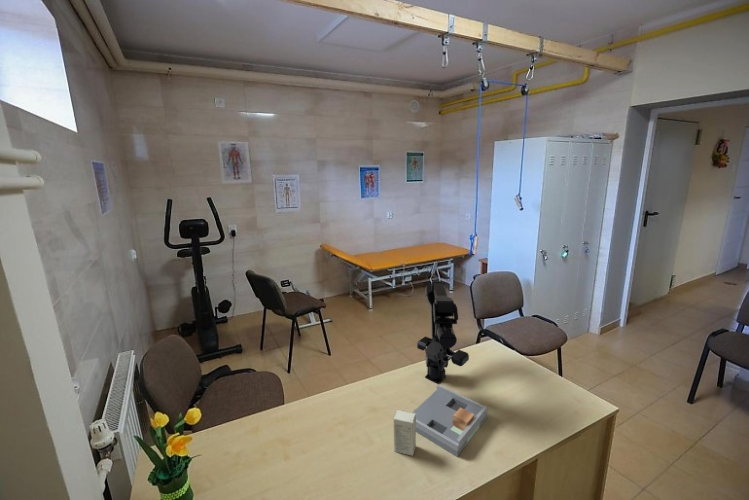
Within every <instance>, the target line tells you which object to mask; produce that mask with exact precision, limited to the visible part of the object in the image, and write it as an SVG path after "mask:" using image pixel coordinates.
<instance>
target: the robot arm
mask: <svg viewBox="0 0 749 500" xmlns="http://www.w3.org/2000/svg"><path fill="white" fill-rule="evenodd" d="M424 289H425V291H424V297H426V302H427V303H428V306H429V308H430V326H431V327H430V329H431V331H430V332H431V333H430V334H431V335H430V336H431V337H429V336H426V335H425V336H424V337H423V338H421V339H418V341H417V342H416V347H417V349H418V350H420V351H425V352H424V353H425V364H426V365H425V366H426V369H427V370H426V374H425V376H424V378H425V379H427V380H430V381H432V382H434V383H436V384H440V383H441V382H442V381H443V380H444V379H445V378H446V377H447V375H446V369H445V368H448V366H449V361H451V363H452V364H454V365H456V366H459V367H462V366H464V365H465V364H466V363H467V362H469V360H470V355H469V353H468V352H466V351H464V350H460V349H458V350H456V351H455V350H454V349H452V348H453V347H455V345H456V344H457V341H458V340H457V335H456V332H455V331H454V328H453V325H458V320H459V313H458V312H459V311H458V306H457V304H456V303H455V301H454V299H453V298H452V297H449V296H448V293H447V285H446V284H445V281H443V280H433V281H431V283H429V284H427V285H426V286H425V288H424Z"/></svg>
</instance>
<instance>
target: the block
mask: <svg viewBox="0 0 749 500" xmlns="http://www.w3.org/2000/svg"><path fill="white" fill-rule="evenodd" d="M473 419H474V414H473V413H471V412H469V411H467V410H465V409H463V408H461V407H460V408H459V410H458V411H457V412H456V413H455V414H454V415H453V426H455V427H456V428H458V429H460V430H462V431H464V430H465V429H466V428H467V426H468V425H469V424H470V423H471V421H472V420H473Z"/></svg>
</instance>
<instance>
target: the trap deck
mask: <svg viewBox="0 0 749 500" xmlns="http://www.w3.org/2000/svg"><path fill="white" fill-rule="evenodd" d="M460 407H461V408H463V409H465V410H467V411H469V412H471V413H473V414H474V419H473V420H472V421H471V423H470V424H469V425H468V426H467V428H466V429H465V430H464V431H462V430H460V429H458V428H456V427H455V426H453V415H454V414H455V413H456V412H457V411H458V410H459V408H460ZM488 412H489V408H488V406H486V405H484V404H480V403H479V402H477V401H475V400H472V399H471V398H469V397H467V396H464V395H462V394H460V393H458V392H456V391H454V390H451V389H449V388H447V387H445V386H444V385H441V384H440V383H437V385H436V390H435V391H433V393H432V394H431V395H429V397H427V398H426V399H425V400H424V401H423V402H422V403H421V404H420V405H419V406H417V408H416V409H414V410H413V411H412V412H411V413H415V414H416V434H418V435H420V436H422V437H424V438H426V439H427V440H428V441H430V442H432V443H433V444H434V445H437V446H439V447H440V448H442V449H444V451H446V452H448V453H450V454H452V455H453V456H455V457H458V456H459V455H460V454H461V452H462V451H463V450H464V448H465V447H466V445H467V444H468V443H469V442H470V441H471V440H472V438H473V437H474V436H475V434H476V433H477V432H478V430H479V429H480V427H481V426H482V425H483V424H484V423H485V421H486V420H487V418H488Z"/></svg>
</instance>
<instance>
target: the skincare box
mask: <svg viewBox="0 0 749 500" xmlns="http://www.w3.org/2000/svg"><path fill="white" fill-rule="evenodd" d="M392 420H393V451H394V452H397V453H400V454H403V455H407V456H412V457H413V456H414V453H415V450H416V447H417V446H416V445H417V439H416V437H417V436H416V435H417V432H416V414H415V413H412V412H411V411H410V412H409V411H405V410H400V409H396V412H395V414H394V416H393V418H392Z"/></svg>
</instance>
